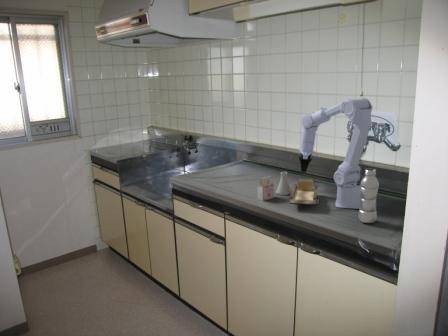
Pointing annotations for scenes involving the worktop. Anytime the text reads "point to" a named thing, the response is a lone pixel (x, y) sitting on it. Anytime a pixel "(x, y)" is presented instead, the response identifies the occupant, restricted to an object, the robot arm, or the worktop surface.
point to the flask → (283, 185)
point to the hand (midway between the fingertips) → (304, 168)
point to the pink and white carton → (265, 188)
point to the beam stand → (308, 204)
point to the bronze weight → (305, 184)
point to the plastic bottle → (368, 197)
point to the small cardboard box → (303, 196)
